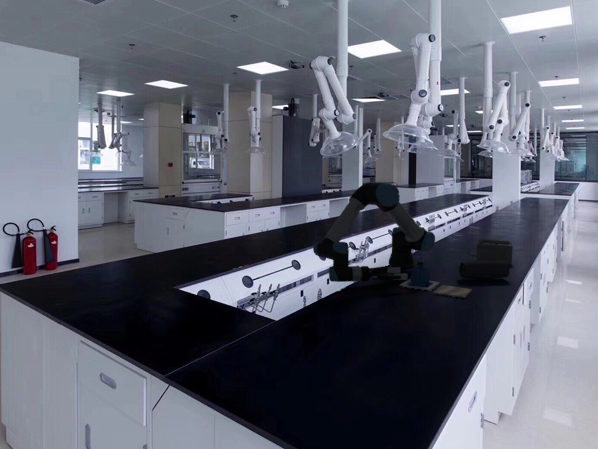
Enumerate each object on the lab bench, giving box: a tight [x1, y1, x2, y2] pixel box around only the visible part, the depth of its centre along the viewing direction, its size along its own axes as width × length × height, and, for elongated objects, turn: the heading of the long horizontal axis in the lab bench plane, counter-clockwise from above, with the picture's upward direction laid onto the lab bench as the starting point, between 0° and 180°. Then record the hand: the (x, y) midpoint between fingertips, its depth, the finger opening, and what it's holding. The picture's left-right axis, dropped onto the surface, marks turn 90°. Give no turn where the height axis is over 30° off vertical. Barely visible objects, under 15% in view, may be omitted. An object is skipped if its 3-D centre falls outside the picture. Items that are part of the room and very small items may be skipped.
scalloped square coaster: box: [399, 277, 441, 292], centre depth 217 cm, size 15×15×1 cm
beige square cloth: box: [432, 284, 473, 299], centre depth 204 cm, size 14×14×1 cm
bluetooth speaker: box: [458, 260, 511, 282], centre depth 226 cm, size 23×9×10 cm, turn 92°
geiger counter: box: [467, 237, 514, 265], centre depth 267 cm, size 14×6×25 cm
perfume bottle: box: [410, 260, 430, 287], centre depth 216 cm, size 6×6×12 cm
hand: (403, 273), depth 216 cm, fingers open, 13 cm apart
